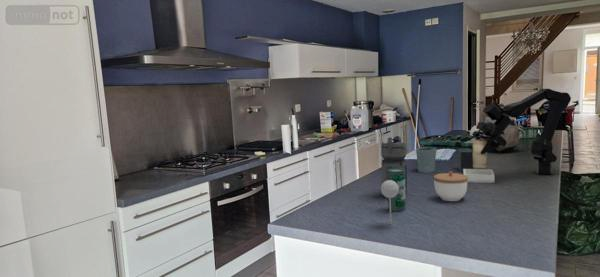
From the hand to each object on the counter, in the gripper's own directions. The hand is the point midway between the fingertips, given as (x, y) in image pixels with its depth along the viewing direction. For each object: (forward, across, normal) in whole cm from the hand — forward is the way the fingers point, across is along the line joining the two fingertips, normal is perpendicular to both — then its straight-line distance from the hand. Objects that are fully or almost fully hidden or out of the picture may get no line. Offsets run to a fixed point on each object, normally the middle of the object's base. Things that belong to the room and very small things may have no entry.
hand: (477, 152), depth 190 cm
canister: (+4, 0, +6) cm, 7 cm away
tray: (+8, -1, +10) cm, 13 cm away
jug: (-30, -61, +49) cm, 83 cm away
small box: (+4, -22, +15) cm, 27 cm away
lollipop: (+52, +43, -33) cm, 75 cm away
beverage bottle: (+40, +10, -22) cm, 47 cm away
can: (+46, +29, -27) cm, 60 cm away
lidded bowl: (+28, +23, -10) cm, 38 cm away
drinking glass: (+18, -27, +1) cm, 32 cm away
